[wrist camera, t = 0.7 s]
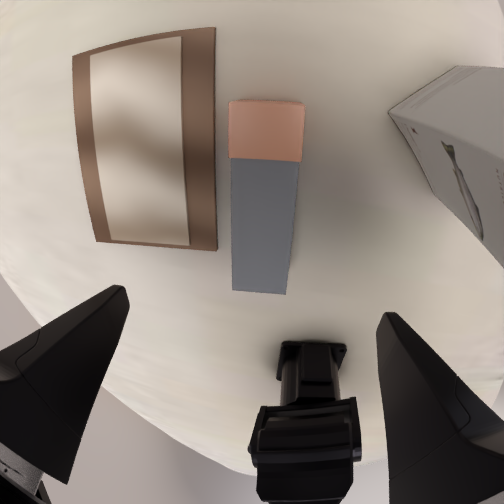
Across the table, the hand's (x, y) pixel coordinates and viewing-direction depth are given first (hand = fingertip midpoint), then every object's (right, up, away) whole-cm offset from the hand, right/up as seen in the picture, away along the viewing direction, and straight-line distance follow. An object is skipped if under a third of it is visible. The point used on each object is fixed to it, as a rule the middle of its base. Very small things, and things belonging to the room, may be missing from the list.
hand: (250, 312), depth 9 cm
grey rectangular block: (+1, +6, +10) cm, 12 cm away
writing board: (-8, +9, +9) cm, 15 cm away
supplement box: (+14, +10, +6) cm, 18 cm away
